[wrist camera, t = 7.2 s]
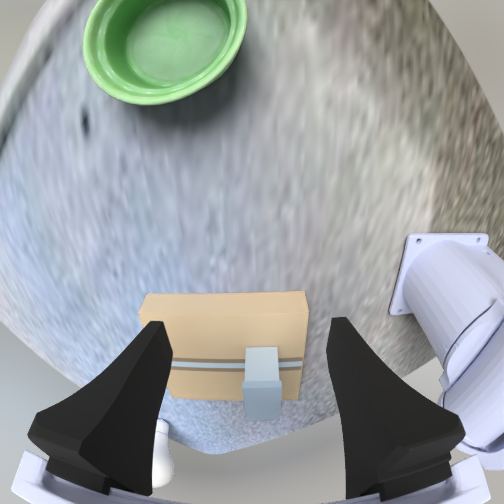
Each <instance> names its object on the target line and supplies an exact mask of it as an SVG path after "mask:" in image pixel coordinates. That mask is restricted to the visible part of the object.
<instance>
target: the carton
mask: <svg viewBox="0 0 504 504" xmlns="http://www.w3.org/2000/svg"><path fill="white" fill-rule="evenodd" d="M138 314H139V317H140V320H141V323H142V326H143V328H144V327H145V326H146V325H147V324H148V323H149V322H150V321H163V322H164V325H165V329H166V332H167V335H168V338H169V341H170V344H171V347H172V350H173V358H172V365H171V371H170V375H169V379H168V382H167V387H168V389H169V391H170V394H171V396H172V398H183V399H198V400H222V401H244V400H243V393H242V381H244V380H245V356H246V347H277V350H278V366H279V381H282V396H281V400H291V399H298V396H299V389H300V382H301V375H302V368H303V360H304V352H305V343H306V335H307V326H308V316H309V310H308V305H307V301H306V296H305V291H286V292H255V293H147V295H146V297H145V299H144V302H143V304H142V306H141V308H140V310H139V312H138Z"/></svg>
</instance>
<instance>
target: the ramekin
mask: <svg viewBox="0 0 504 504" xmlns="http://www.w3.org/2000/svg"><path fill="white" fill-rule="evenodd" d="M247 18H248V15H247V6H246V2H245V0H99V1H98V2H97V4H96V5H95V7H94V9H93V11H92V12H91V14H90V16H89V19H88V21H87V24H86V28H85V32H84V37H83V55H84V60H85V64H86V67H87V69H88V72H89V74H90V75H91V77H92V79H93V80H94V82H95V83H96V84H97V85H98V86H99V87H100V88H101V89H102V90H103V91H104V92H106V93H107V94H108V95H110V96H112V97H114V98H115V99H117V100H120V101H123V102H126V103H130V104H135V105H160V104H165V103H170V102H174V101H177V100H180V99H183V98H185V97H188V96H190V95H192V94H194V93H196V92H197V91H199V90H201V89H203V88H205V87H207V86H208V85H210V84H211V83H213V82H214V81H216V80H217V79H218V78H219V77H221V76H222V75H223V74H224V72H225V71H226V70H227V69H228V68H229V66H230V65H231V64H232V62H233V60H234V58H235V57H236V55H237V53H238V51H239V49H240V47H241V44H242V42H243V39H244V36H245V33H246V28H247Z"/></svg>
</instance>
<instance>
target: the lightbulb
mask: <svg viewBox="0 0 504 504" xmlns="http://www.w3.org/2000/svg"><path fill="white" fill-rule="evenodd" d="M168 430H169V425H168V424H167V423H166V422H165V421H164V420H163V419H158V420H157V426H156V433H155V441H154V451H153V467H152V487H161V486H164V485H165V484H167V483H168V482H170V480H171V479H172V477H173V475H174V464H173V461H172V459H171V456H170V454H169V449H168V440H169V438H168Z"/></svg>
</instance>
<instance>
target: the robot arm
mask: <svg viewBox="0 0 504 504" xmlns="http://www.w3.org/2000/svg"><path fill="white" fill-rule="evenodd" d="M417 239H419V241H418V242H416V241H417ZM488 239H489V237H488V235H487V234H485V233H428V234H410V235H409V236H408V237H407V240H406V245H405V250H404V254H403V259H402V263H401V267H400V271H399V275H398V279H397V283H396V287H395V291H394V294H393V298H392V302H391V305H390V309H389V312H390V314H391V315H401V314H409V313H413V314H414V315H415V317H416V319H417V321H418V322H419V324H420V326H421V328H422V329H423V331H424V333H425V335H426V337H427V338H428V340H429V342H430V344H431V346H432V348H433V350H434V352H435V353H436V355H437V357H438V359H439V361H440V363H441V365H442V367H443V369H444V372H443V374H442V376H441V377H440V378H439V381H440V383H441V385H442V387H443V390H444V391H443V392H442V394H441V395H440V397H439V400H438V403H437V404H435V403H434V402H432V401H431V400H429V399H427V398H426V397H424V396H423V395H421V394H420V393H419V392H417V391H416V390H414V389H413V388H412V387H410V386H409V385H408V384H406V383H405V382H404V381H403V380H402V379H401V378H399V377H398V376H397V375H396V374H395V373H394V372H393V371H392V370H391V369H390V368H389V367H388V366H387V365H386V364H385V363H384V362H383V361H382V360H381V359H380V358H379V357H378V356H377V355H376V354H375V352H374V351H373V350H372V349H371V348H370V347H369V345H368V344H367V343H366V342H365V341H364V339H363V338H362V337H361V336H360V334H359V333H358V332H357V330H356V329H355V328H354V327H353V325H352V324H351V323H350V321H349V320H348V319H347V318H346V317H337V318H332V320H331V326H330V332H329V337H328V343H327V348H326V353H327V361H328V368H329V373H330V377H331V381H332V385H333V389H334V392H335V396H336V400H337V404H338V408H339V412H340V417H341V424H342V432H343V441H344V453H345V469H346V500H342V501H336V502H330V503H323V504H483V503H485V502H486V501H488V500H489V499H490V498H491V496H490V493H489V489H488V486H487V482H486V479H485V476H484V472H483V469H482V467H483V468H484V469H486V470H504V261H503V260H502V259H501V258H500V257H499V256H498V255H496V254H495V253H494V252H493V251H492V250H491V249H490V248H489V247H488V246H487V243H488ZM399 309H400V310H399ZM172 358H173V350H172V347H171V344H170V341H169V338H168V335H167V332H166V329H165V325H164V322H163V321H150V322H149V323H148V324H147V325H146V326H145V327H144V328H143V329H142V331H141V332H140V333H139V334H138V335H137V336H136V337H135V339H134V340H133V341H132V342H131V343H130V344H129V345H128V346H127V348H126V349H125V350H124V351H123V352H122V353H121V354H120V355H119V356H118V357H117V358H116V359H115V360H114V361H113V362H112V363H111V364H110V365H109V366H108V367H107V368H106V369H105V370H104V371H103V372H102V373H101V374H99V375H98V376H97V377H96V378H95V379H93V380H92V381H91V382H90V383H88V384H87V385H85V386H84V387H83V388H81V389H80V390H78V391H77V392H76V393H74V394H73V395H71V396H69V397H68V398H66V399H64V400H63V401H61V402H59V403H57V404H55V405H53V406H51V407H49V408H47V409H45V410H42V411H40V412H38V413H37V414H36V416H35V418H34V421H33V423H32V425H31V427H30V429H29V432H28V438H29V439H30V440H31V441H32V442H33V443H34V444H35V445H36V446H37V447H38V448H40V449H41V450H42V451H43V452H45V453H46V454H47V455H49V456H50V458H49V460H48V461H47V460H45V459H44V458H42V457H40V456H38V455H35V454H33V453H31V452H29V451H27V450H25V452H24V454H23V457H22V459H21V462H20V465H19V468H18V470H17V473H16V477H15V479H14V482H13V485H12V488H11V490H12V492H14V493H15V494H17V495H18V496H20V497H22V498H23V499H25V500H27V501H28V502H30V503H31V504H188V503H180V502H174V501H168V500H163V499H157V498H152V497H148V496H150V495H151V494H152V467H153V451H154V441H155V433H156V426H157V419H158V415H159V411H160V407H161V404H162V400H163V396H164V393H165V389H166V386H167V382H168V379H169V375H170V371H171V365H172ZM453 448H457V449H458V450H460V451H462V452H465V453H467V454H469V455H471V456H470V457H468V458H466V459H464V460H461V461H460V462H457V463H455V464H453V465H451V466H450V464H449V461H450V460H451V454H450V451H451V450H452V449H453ZM481 465H482V466H481Z"/></svg>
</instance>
